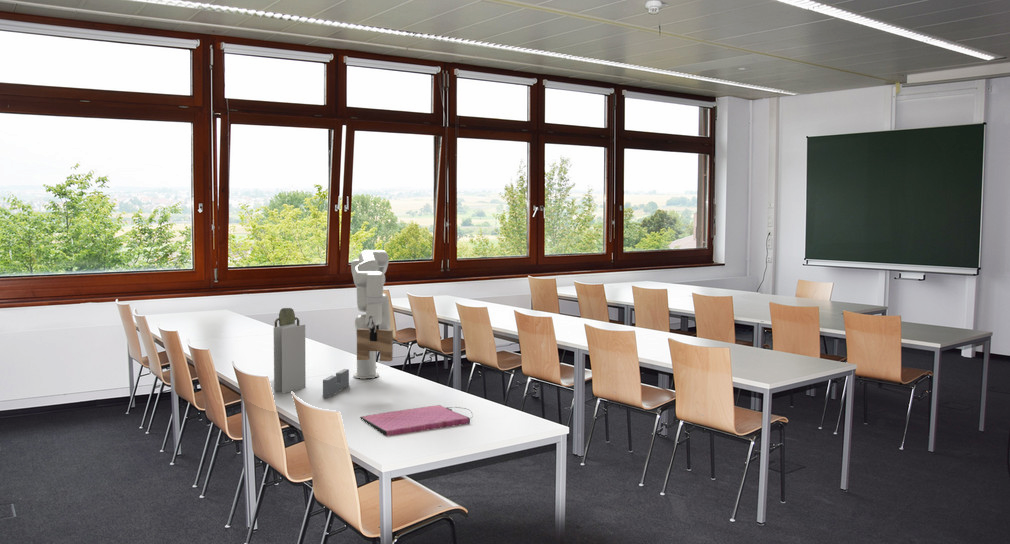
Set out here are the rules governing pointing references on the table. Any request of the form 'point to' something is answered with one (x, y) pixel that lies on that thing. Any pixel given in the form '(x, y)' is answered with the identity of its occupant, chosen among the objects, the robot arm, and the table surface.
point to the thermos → (286, 317)
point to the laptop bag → (415, 419)
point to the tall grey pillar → (289, 358)
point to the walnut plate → (375, 344)
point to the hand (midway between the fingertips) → (374, 339)
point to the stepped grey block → (335, 383)
